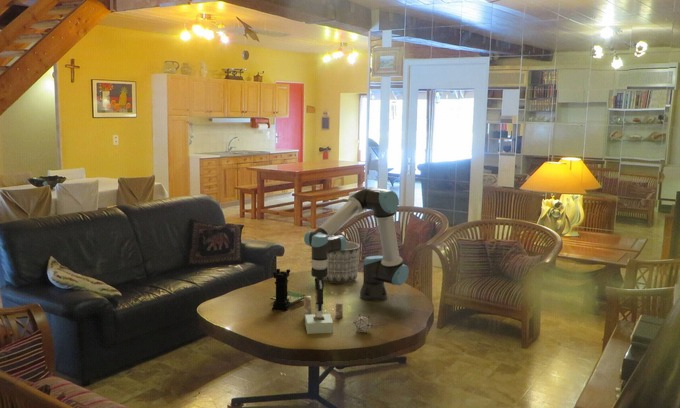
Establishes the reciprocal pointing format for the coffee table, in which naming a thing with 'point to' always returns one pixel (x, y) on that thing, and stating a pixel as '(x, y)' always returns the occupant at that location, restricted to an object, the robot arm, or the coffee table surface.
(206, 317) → the coffee table surface
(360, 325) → the spiky lattice ball
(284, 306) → the chess piece
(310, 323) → the collar block
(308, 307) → the pin medium
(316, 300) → the pin long
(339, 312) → the pin short
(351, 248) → the planter
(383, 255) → the robot arm
